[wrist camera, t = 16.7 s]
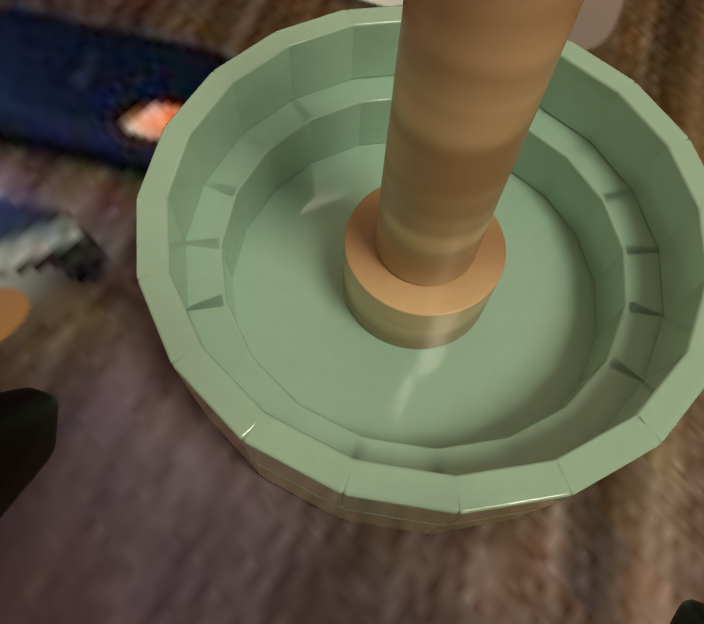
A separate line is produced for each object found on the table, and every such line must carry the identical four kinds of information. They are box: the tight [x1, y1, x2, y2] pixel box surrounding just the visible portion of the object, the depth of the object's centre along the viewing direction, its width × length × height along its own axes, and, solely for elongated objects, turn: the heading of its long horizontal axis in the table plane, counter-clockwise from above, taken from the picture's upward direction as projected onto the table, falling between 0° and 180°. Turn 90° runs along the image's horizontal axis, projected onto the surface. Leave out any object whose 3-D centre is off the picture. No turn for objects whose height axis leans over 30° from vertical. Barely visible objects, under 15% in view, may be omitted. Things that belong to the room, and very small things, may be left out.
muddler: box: [343, 0, 584, 349], centre depth 13 cm, size 5×5×14 cm
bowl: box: [136, 5, 704, 534], centre depth 18 cm, size 16×16×5 cm
